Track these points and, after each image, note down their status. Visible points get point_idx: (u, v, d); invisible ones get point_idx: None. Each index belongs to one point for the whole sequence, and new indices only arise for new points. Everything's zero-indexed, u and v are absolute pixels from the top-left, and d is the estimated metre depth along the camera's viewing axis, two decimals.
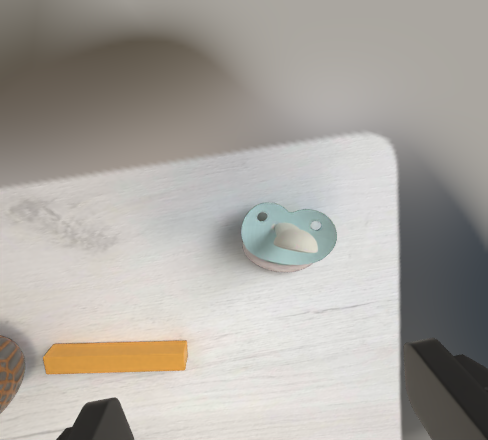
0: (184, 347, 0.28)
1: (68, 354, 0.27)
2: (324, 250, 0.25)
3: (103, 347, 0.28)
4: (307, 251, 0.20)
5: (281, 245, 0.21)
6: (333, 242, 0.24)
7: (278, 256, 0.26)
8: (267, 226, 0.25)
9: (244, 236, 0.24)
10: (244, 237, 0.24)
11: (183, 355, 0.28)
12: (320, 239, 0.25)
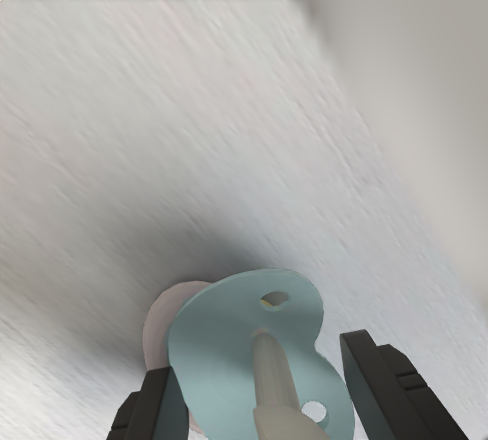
0: None
1: None
2: None
3: None
4: None
5: None
6: None
7: (196, 383, 0.10)
8: (254, 321, 0.09)
9: (206, 296, 0.08)
10: (203, 297, 0.08)
11: None
12: None
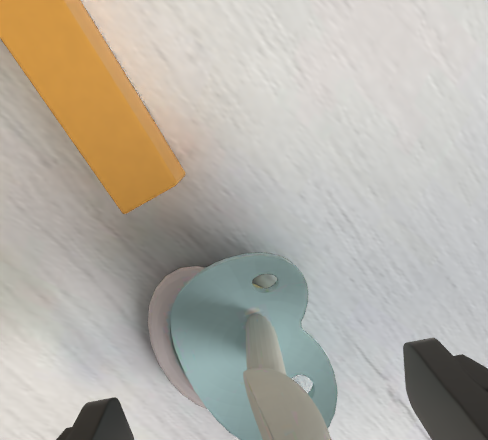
0: (180, 177, 0.09)
1: None
2: None
3: None
4: None
5: (274, 435, 0.06)
6: None
7: (196, 357, 0.11)
8: (247, 302, 0.10)
9: (203, 277, 0.09)
10: (201, 278, 0.09)
11: (169, 186, 0.09)
12: None
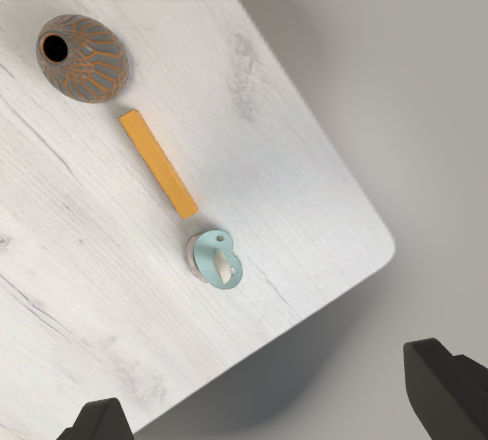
0: (196, 209, 0.35)
1: (144, 128, 0.32)
2: (221, 285, 0.37)
3: (161, 151, 0.33)
4: (222, 279, 0.32)
5: (216, 263, 0.32)
6: (229, 287, 0.37)
7: (200, 261, 0.37)
8: (215, 244, 0.36)
9: (202, 235, 0.35)
10: (202, 236, 0.35)
11: (194, 212, 0.34)
12: None
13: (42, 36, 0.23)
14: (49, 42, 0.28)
